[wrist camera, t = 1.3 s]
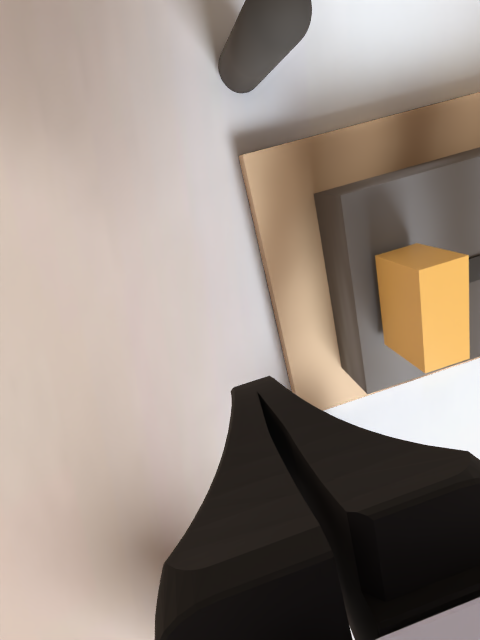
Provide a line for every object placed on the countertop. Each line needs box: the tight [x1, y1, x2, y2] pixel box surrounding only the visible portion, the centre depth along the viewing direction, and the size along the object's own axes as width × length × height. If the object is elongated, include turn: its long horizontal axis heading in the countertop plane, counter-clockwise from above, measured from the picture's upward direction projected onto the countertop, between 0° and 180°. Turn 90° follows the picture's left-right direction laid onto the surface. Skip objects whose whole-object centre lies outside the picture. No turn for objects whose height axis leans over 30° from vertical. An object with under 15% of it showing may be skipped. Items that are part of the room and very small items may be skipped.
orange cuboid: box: [375, 243, 470, 374], centre depth 16 cm, size 2×4×3 cm, turn 14°
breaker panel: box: [239, 92, 480, 411], centre depth 20 cm, size 15×15×4 cm
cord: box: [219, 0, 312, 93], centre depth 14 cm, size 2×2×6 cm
